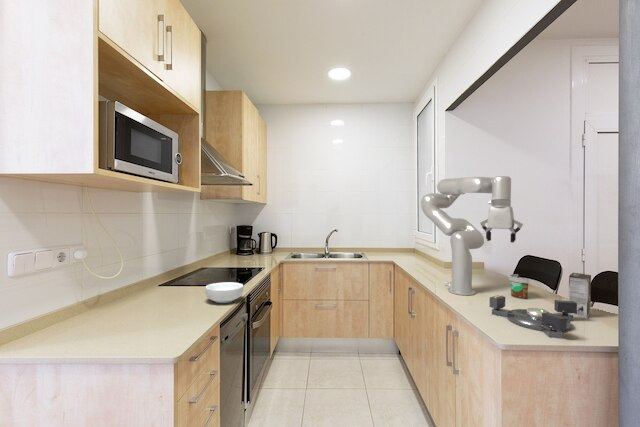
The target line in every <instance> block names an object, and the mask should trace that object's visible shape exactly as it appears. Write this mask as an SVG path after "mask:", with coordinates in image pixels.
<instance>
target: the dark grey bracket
mask: <svg viewBox="0 0 640 427" xmlns="http://www.w3.org/2000/svg"><path fill="white" fill-rule="evenodd" d="M504 307H506V296H505V295H502V294H500V295H499V294H497V295H493V296H489V308H492V309H493V308H495V309H498V308H501V309H505V308H504Z"/></svg>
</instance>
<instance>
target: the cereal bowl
mask: <svg viewBox="0 0 640 427" xmlns="http://www.w3.org/2000/svg"><path fill="white" fill-rule="evenodd" d="M204 291H205V293H204V294H205V295H206V297H207V298H208V299H209V300H210V301H214V303H217V304H229V303H232V302H234V301H235V300H237V299H238V298H240V297H242V295H243V293H244V284H243V283H239V282H232V281H231V282H228V281H227V282H225V281H224V282H223V281H222V282H216V283H214V282H213V283H209V284H207V285H206V286H205V289H204Z"/></svg>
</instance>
